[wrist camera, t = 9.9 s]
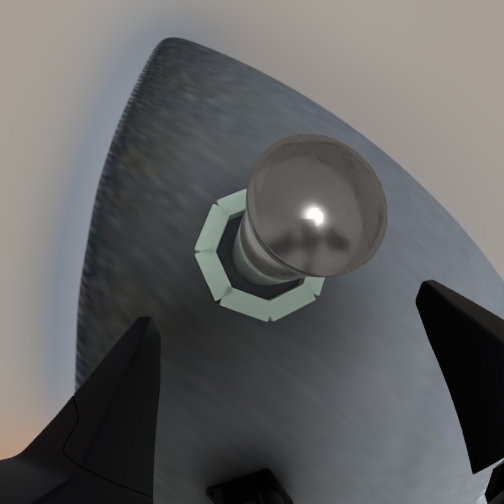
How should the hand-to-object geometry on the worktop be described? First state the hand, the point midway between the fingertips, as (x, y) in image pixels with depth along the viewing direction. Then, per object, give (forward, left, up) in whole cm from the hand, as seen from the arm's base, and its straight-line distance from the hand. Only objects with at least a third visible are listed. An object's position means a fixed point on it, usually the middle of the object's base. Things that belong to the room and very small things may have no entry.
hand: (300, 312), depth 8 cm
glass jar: (+3, -3, -13) cm, 14 cm away
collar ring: (+3, -3, -13) cm, 14 cm away
